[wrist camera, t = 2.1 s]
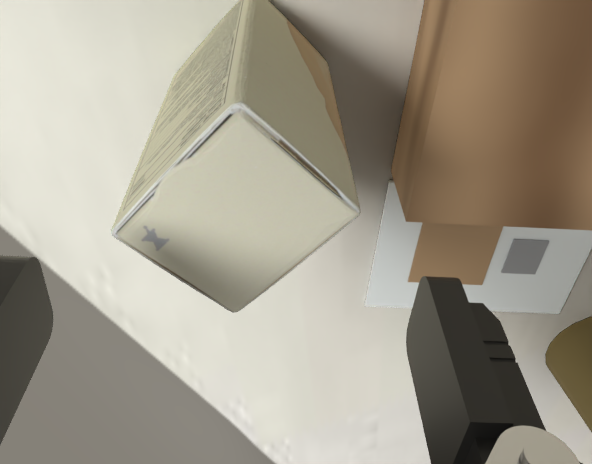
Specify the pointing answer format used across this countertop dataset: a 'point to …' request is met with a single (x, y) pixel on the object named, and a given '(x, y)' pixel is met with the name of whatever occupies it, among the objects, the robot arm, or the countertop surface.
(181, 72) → the box
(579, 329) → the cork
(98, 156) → the countertop surface
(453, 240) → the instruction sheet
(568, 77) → the base brick
